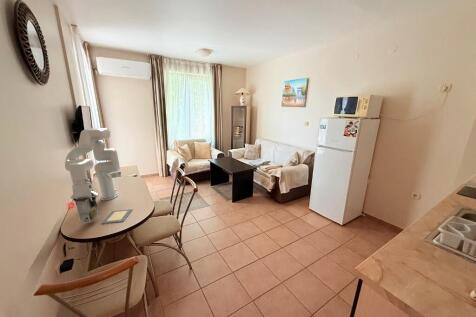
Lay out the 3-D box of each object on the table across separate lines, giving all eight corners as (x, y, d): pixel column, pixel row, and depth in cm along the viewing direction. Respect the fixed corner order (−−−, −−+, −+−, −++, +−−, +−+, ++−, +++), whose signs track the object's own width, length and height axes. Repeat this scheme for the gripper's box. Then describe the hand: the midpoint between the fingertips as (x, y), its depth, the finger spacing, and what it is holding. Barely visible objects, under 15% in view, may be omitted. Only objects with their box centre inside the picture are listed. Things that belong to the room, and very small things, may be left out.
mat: (112, 211, 141) (112, 210, 141) (132, 209, 143) (132, 208, 143) (101, 224, 126) (100, 223, 126) (123, 221, 128) (123, 220, 127)
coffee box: (90, 215, 131) (84, 194, 126) (100, 214, 131) (94, 193, 127) (80, 223, 122) (74, 200, 118) (91, 222, 123) (85, 200, 118)
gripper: (98, 178, 124) (104, 202, 129) (69, 180, 122) (76, 205, 127) (92, 182, 117) (98, 208, 122) (60, 184, 115) (68, 211, 120)
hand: (87, 206), depth 124 cm, fingers closed on coffee box, 6 cm apart
